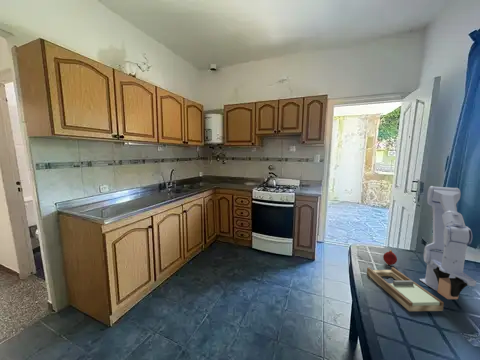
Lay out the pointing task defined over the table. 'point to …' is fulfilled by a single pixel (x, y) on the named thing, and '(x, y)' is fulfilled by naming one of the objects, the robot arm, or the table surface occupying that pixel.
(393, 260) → the onion
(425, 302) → the lid
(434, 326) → the table surface
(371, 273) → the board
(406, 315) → the table surface
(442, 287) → the block
